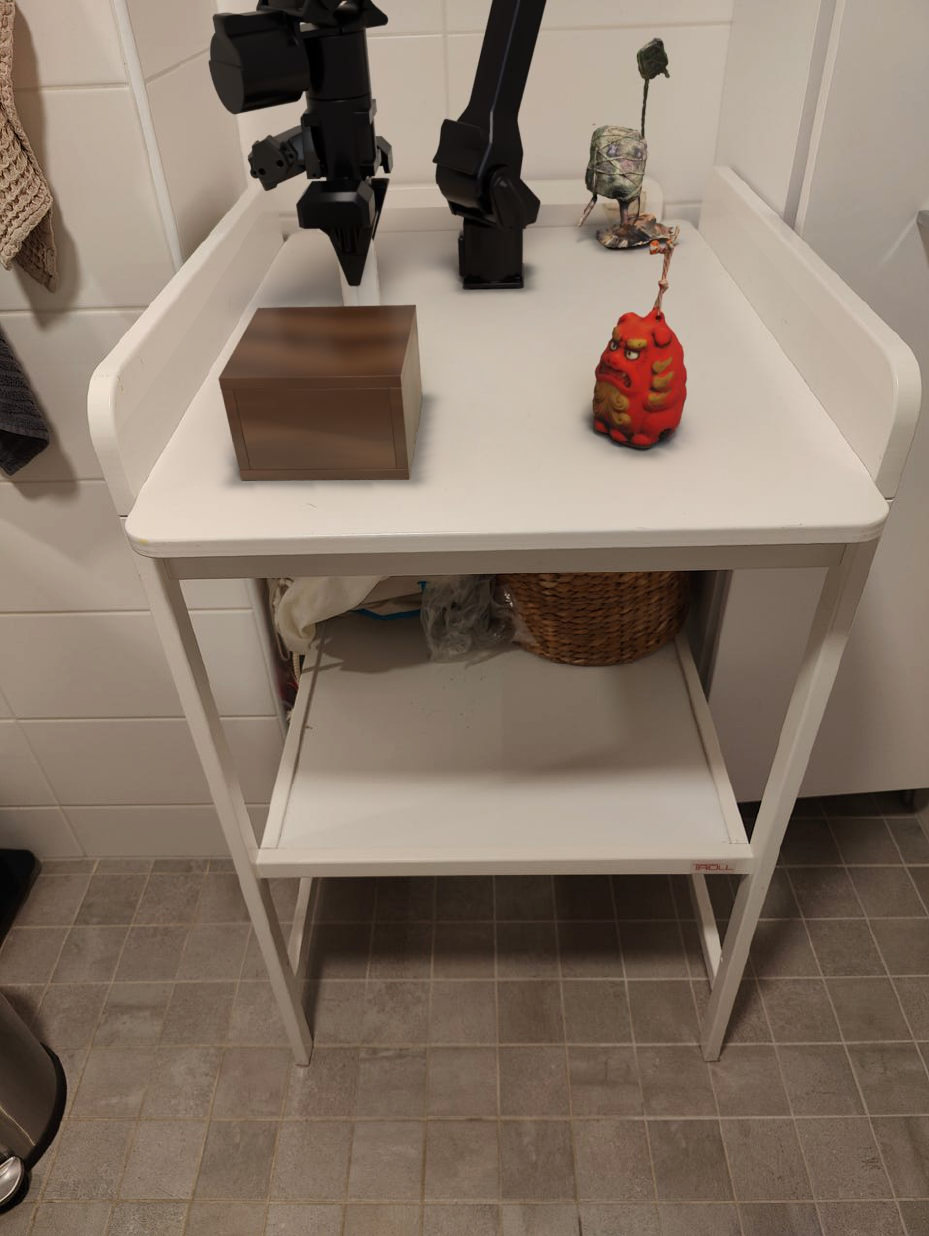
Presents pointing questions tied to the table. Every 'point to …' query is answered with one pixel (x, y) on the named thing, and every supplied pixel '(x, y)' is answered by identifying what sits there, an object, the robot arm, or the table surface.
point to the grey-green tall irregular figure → (626, 165)
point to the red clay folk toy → (642, 374)
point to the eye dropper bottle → (363, 284)
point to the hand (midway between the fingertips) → (358, 273)
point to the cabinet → (325, 393)
